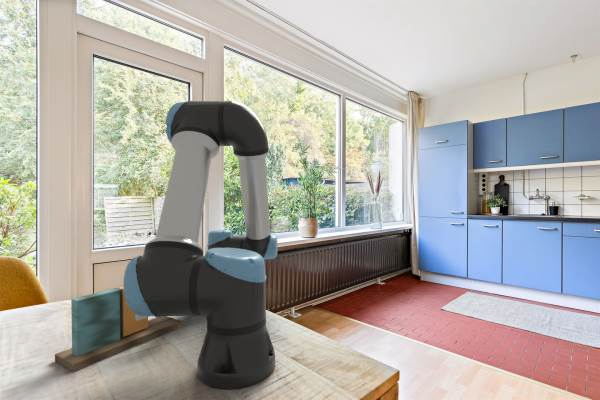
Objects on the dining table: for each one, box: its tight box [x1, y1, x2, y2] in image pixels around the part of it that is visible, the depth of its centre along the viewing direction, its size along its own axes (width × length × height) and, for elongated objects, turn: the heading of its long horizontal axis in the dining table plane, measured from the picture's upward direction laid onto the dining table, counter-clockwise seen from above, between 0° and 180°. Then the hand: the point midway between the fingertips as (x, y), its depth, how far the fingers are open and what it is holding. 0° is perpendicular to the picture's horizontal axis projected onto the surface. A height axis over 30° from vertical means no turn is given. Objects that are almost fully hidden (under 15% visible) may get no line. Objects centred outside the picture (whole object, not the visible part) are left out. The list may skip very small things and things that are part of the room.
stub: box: [117, 286, 149, 337], centre depth 74 cm, size 6×2×11 cm, turn 148°
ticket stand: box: [54, 287, 182, 373], centre depth 73 cm, size 25×8×13 cm, turn 148°
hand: (120, 309), depth 72 cm, fingers open, 12 cm apart
